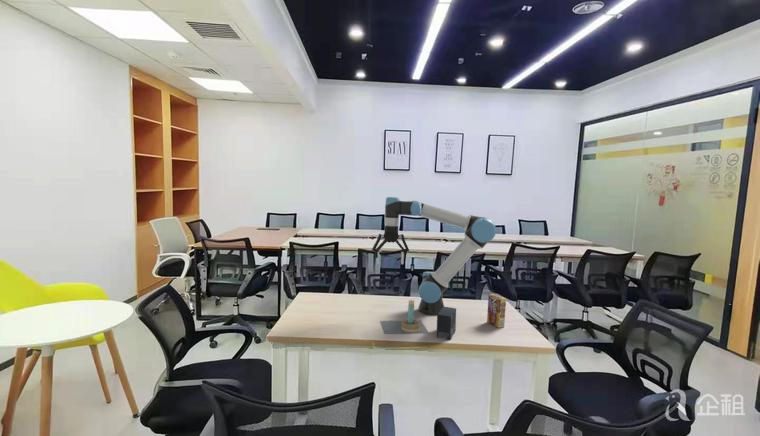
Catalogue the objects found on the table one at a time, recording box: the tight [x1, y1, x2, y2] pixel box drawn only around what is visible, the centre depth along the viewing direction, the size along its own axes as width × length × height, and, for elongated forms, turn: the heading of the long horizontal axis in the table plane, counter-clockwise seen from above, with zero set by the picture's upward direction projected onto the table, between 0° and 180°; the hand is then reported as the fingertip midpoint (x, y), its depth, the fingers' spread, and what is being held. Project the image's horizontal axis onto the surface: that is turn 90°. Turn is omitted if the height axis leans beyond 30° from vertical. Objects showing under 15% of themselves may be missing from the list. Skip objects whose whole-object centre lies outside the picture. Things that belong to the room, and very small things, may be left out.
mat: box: [379, 320, 430, 335], centre depth 176 cm, size 22×17×1 cm
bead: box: [401, 318, 420, 332], centre depth 174 cm, size 9×9×3 cm
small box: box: [436, 306, 457, 341], centre depth 169 cm, size 13×7×12 cm, turn 157°
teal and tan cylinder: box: [407, 299, 415, 324], centre depth 174 cm, size 3×3×14 cm
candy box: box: [486, 293, 507, 329], centre depth 185 cm, size 9×4×15 cm, turn 26°
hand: (390, 263), depth 193 cm, fingers open, 13 cm apart
